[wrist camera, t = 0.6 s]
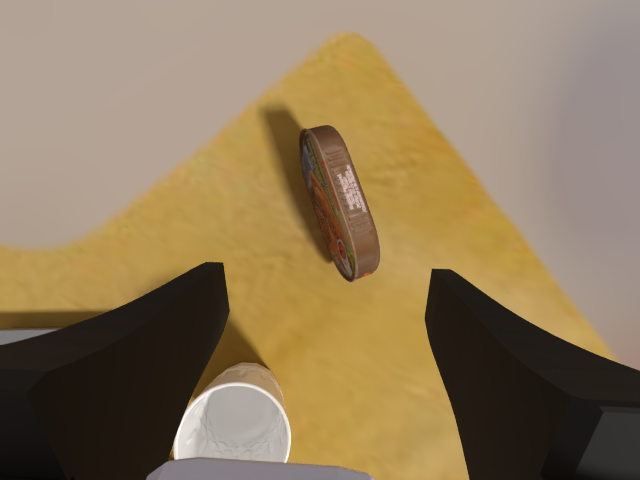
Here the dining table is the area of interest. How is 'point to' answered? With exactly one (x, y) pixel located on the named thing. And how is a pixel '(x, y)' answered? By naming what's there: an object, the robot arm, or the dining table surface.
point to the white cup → (237, 418)
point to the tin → (339, 202)
